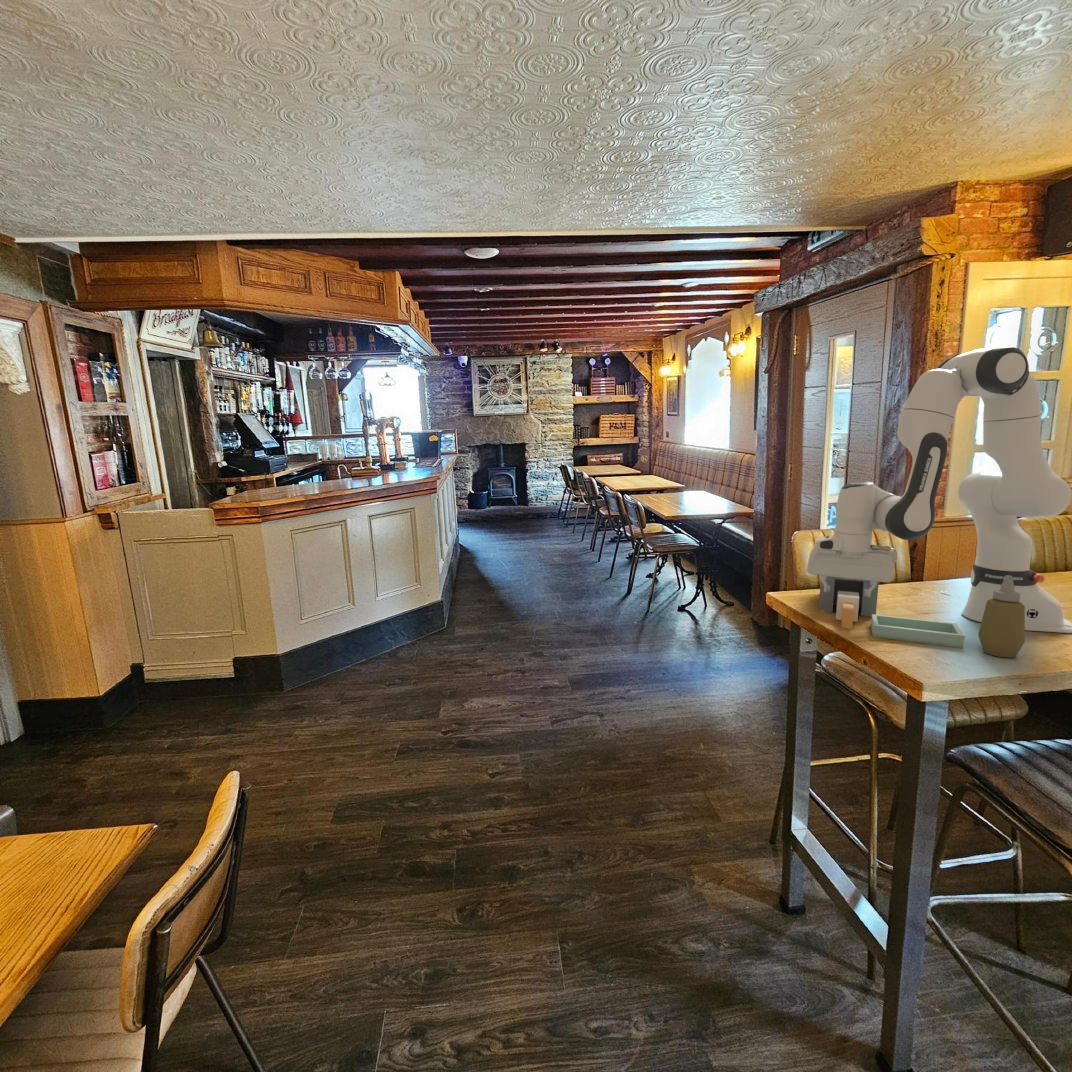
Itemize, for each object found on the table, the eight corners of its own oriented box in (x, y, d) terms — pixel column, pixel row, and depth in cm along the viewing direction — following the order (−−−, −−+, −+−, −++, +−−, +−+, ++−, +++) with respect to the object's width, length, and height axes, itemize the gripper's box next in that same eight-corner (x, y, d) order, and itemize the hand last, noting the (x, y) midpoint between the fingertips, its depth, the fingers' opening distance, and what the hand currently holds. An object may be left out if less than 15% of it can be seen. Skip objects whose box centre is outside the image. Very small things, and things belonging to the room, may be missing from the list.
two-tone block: (856, 615, 156) (858, 592, 155) (858, 629, 144) (860, 604, 143) (836, 613, 158) (837, 590, 157) (836, 626, 147) (837, 602, 146)
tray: (955, 635, 139) (956, 623, 139) (963, 648, 131) (964, 635, 130) (870, 625, 148) (871, 613, 147) (872, 636, 139) (873, 625, 138)
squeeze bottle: (1022, 663, 122) (1033, 582, 119) (975, 654, 127) (984, 576, 124) (1022, 652, 128) (1033, 575, 125) (977, 644, 133) (986, 570, 130)
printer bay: (873, 604, 166) (876, 563, 164) (875, 616, 154) (879, 572, 152) (819, 598, 172) (822, 559, 170) (818, 610, 161) (821, 568, 159)
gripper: (897, 545, 147) (891, 596, 149) (809, 538, 156) (805, 586, 158) (899, 548, 141) (893, 602, 144) (809, 541, 151) (804, 591, 153)
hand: (846, 594), depth 151 cm, fingers open, 8 cm apart
